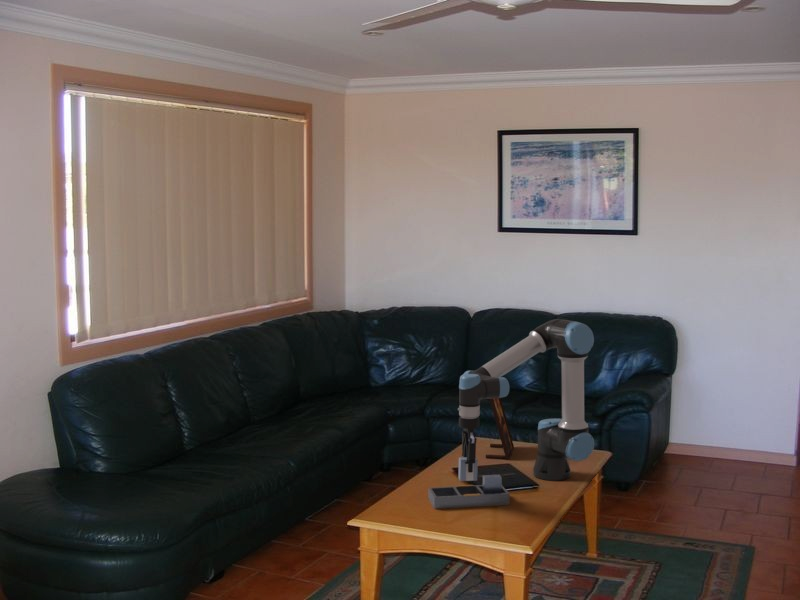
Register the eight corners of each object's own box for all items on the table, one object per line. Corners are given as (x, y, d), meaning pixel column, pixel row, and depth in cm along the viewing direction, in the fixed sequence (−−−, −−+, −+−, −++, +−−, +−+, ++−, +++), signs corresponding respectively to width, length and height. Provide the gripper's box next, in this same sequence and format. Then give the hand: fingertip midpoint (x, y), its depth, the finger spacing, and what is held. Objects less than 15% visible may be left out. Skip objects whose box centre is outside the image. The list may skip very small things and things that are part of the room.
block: (475, 478, 337) (475, 457, 336) (477, 480, 334) (477, 459, 333) (458, 478, 336) (458, 457, 335) (460, 481, 333) (460, 459, 332)
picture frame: (510, 460, 389) (510, 391, 386) (485, 459, 391) (486, 390, 388) (513, 447, 410) (514, 382, 406) (490, 446, 412) (491, 381, 408)
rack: (500, 494, 344) (501, 471, 343) (509, 504, 332) (509, 480, 331) (428, 498, 339) (428, 474, 338) (434, 508, 328) (434, 484, 327)
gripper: (454, 411, 340) (453, 472, 342) (464, 422, 324) (463, 485, 326) (473, 411, 341) (472, 471, 343) (484, 421, 325) (483, 485, 327)
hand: (468, 478), depth 335 cm, fingers closed on block, 3 cm apart
